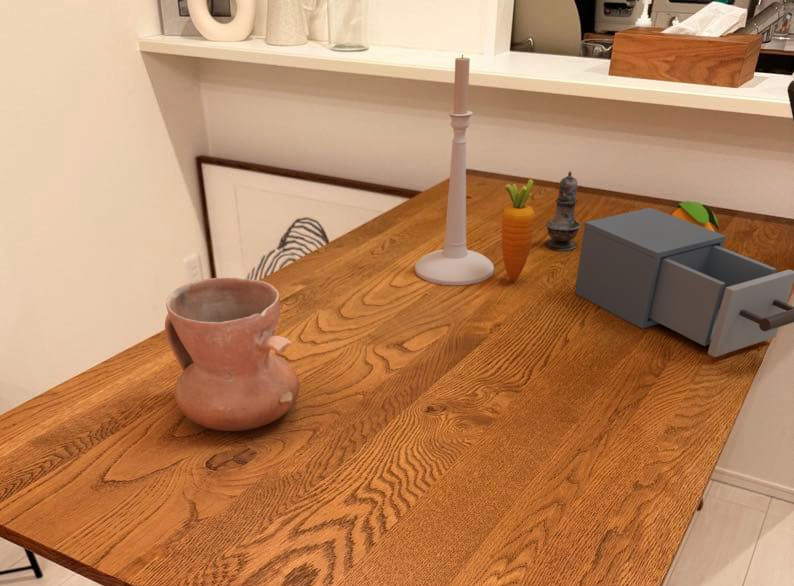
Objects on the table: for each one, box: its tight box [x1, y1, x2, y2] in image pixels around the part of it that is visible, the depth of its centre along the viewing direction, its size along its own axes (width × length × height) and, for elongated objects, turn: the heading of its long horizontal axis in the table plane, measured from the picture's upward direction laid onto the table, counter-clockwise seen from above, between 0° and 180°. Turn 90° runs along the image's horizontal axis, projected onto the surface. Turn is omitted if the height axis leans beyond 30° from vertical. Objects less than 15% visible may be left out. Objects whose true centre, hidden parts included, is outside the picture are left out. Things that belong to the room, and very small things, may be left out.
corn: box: [671, 200, 720, 232], centre depth 125 cm, size 7×8×20 cm
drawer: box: [648, 244, 794, 358], centre depth 100 cm, size 18×11×9 cm, turn 29°
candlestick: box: [414, 54, 495, 286], centre depth 115 cm, size 13×13×30 cm
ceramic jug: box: [164, 277, 300, 432], centre depth 87 cm, size 18×14×14 cm
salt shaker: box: [545, 170, 582, 252], centre depth 129 cm, size 6×6×12 cm
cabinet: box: [574, 207, 727, 330], centre depth 111 cm, size 15×13×11 cm
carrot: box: [501, 179, 536, 283], centre depth 116 cm, size 5×5×15 cm
